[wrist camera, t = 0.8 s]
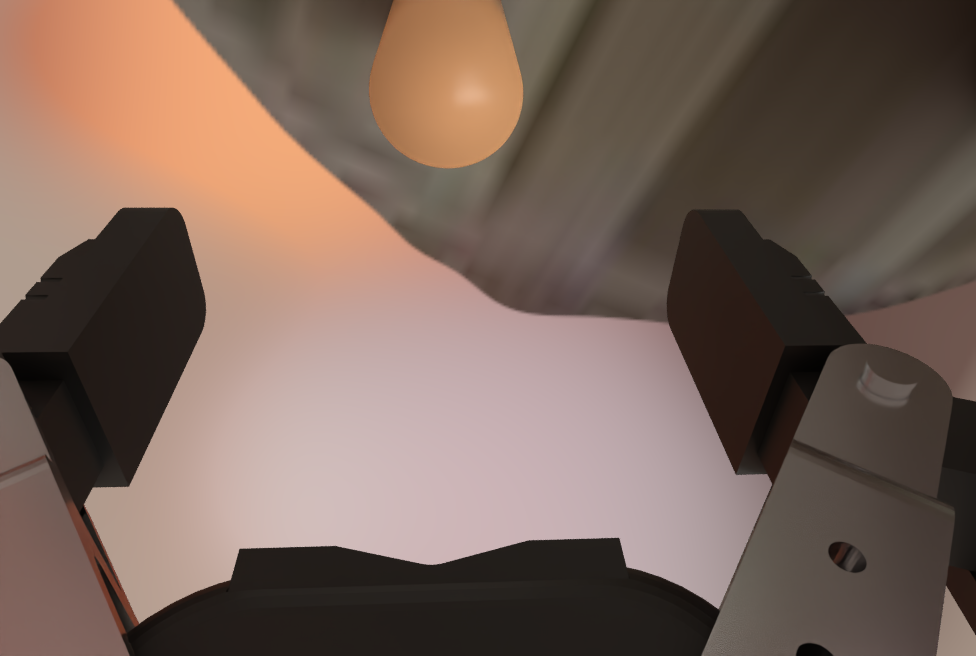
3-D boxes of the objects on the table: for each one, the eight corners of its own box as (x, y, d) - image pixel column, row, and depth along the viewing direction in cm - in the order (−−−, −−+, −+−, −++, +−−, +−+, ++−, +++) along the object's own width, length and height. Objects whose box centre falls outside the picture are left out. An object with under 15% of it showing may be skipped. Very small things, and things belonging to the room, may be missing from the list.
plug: (502, -50, 24) (527, 14, 16) (498, 64, 27) (518, 168, 19) (391, -52, 24) (362, 11, 16) (398, 63, 26) (375, 167, 18)
